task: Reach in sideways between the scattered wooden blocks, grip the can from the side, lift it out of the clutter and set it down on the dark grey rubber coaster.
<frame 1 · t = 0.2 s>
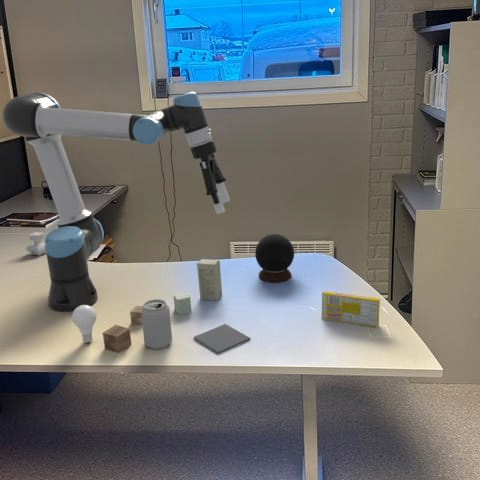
hand: (223, 207, 178), 27 cm above the table, tool tilted 15°, fingers open, 13 cm apart
candy box: (349, 322, 160), on the table
coaster: (221, 339, 153), on the table
walnut block: (118, 347, 151), on the table
oak block: (140, 321, 165), on the table
can: (158, 344, 152), on the table
sage block: (183, 310, 170), on the table
black ball on stand: (275, 276, 193), on the table
skincare box: (210, 297, 179), on the table
stamp: (39, 254, 223), on the table
lightbulb: (88, 342, 154), on the table
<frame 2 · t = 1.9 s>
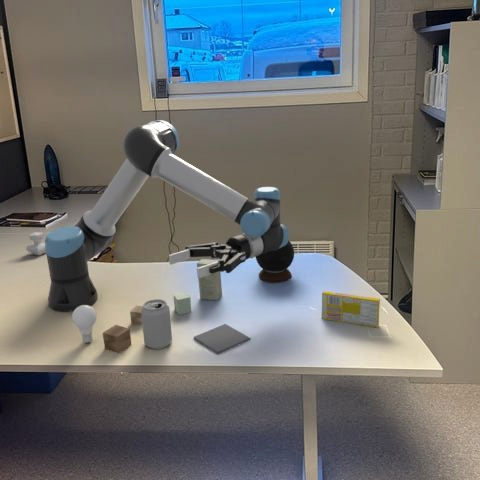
hand: (183, 266, 151), 20 cm above the table, tool horizontal, fingers open, 13 cm apart
nothing on the table moved.
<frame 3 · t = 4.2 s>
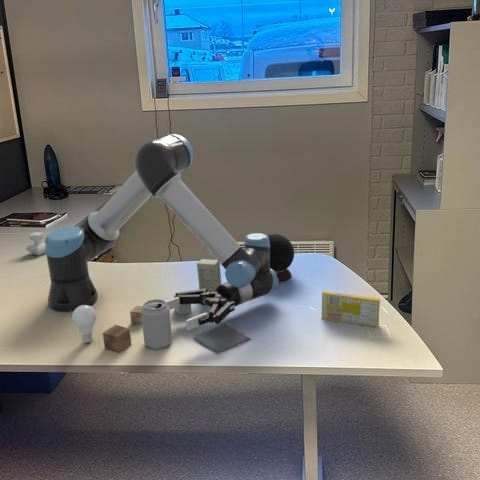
hand: (172, 316, 152), 7 cm above the table, tool horizontal, fingers open, 13 cm apart
nothing on the table moved.
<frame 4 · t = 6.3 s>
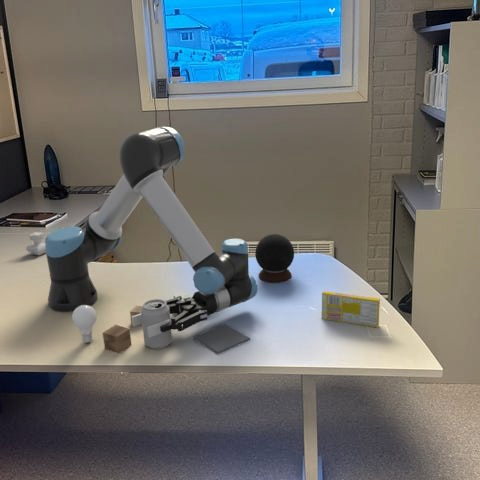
hand: (140, 326, 147), 7 cm above the table, tool horizontal, fingers closed on can, 7 cm apart
can: (158, 344, 152), on the table, touching gripper
everything else where it was.
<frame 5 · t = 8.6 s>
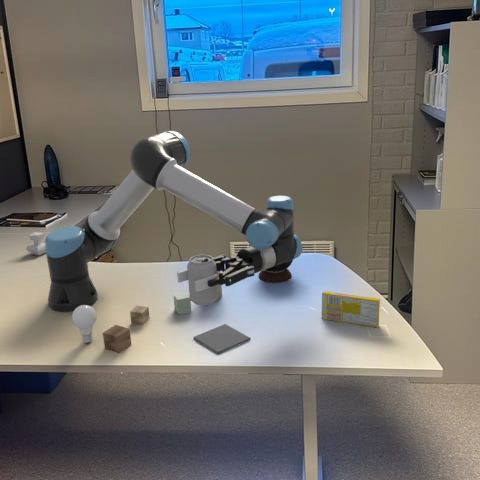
hand: (187, 281, 143), 19 cm above the table, tool horizontal, fingers closed on can, 7 cm apart
can: (204, 301, 148), point 12 cm above the table, touching gripper
everything else where it was.
when the fingers open (8 cm above the table, at t = 11.2 s): can stays where it is, resting on coaster.
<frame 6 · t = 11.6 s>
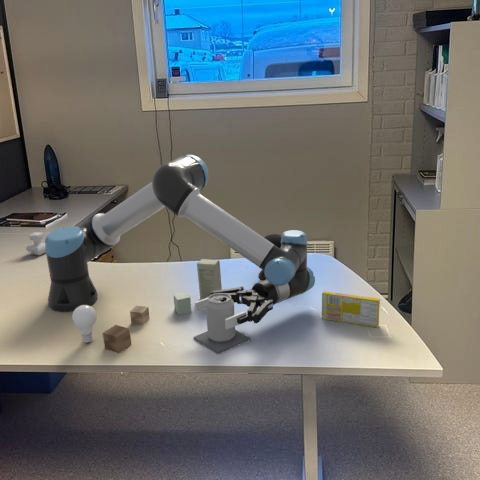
hand: (210, 315, 148), 8 cm above the table, tool horizontal, fingers open, 13 cm apart
can: (221, 337, 153), resting on coaster
everything else where it was.
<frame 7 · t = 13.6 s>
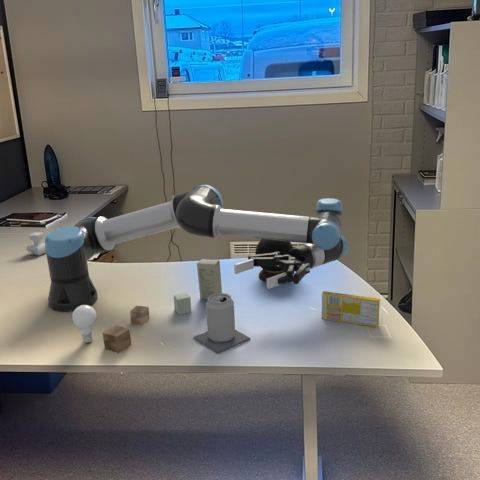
hand: (250, 276, 153), 16 cm above the table, tool horizontal, fingers open, 13 cm apart
nothing on the table moved.
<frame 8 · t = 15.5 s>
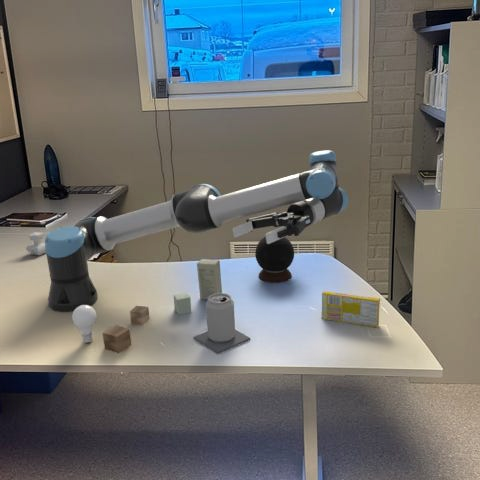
hand: (249, 235, 149), 28 cm above the table, tool horizontal, fingers open, 13 cm apart
nothing on the table moved.
at the end: can 0.1 cm from the coaster (horizontally); can tilted 0°; the gripper is holding nothing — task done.
